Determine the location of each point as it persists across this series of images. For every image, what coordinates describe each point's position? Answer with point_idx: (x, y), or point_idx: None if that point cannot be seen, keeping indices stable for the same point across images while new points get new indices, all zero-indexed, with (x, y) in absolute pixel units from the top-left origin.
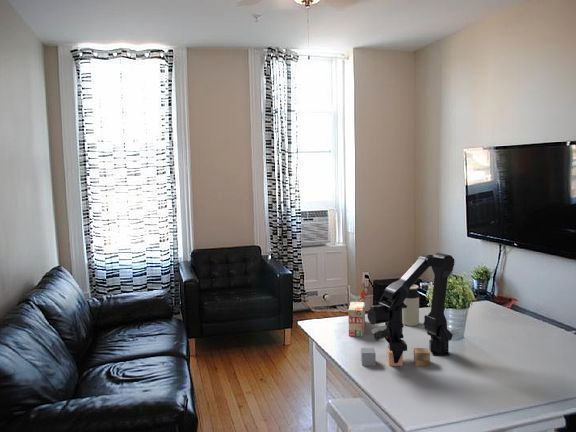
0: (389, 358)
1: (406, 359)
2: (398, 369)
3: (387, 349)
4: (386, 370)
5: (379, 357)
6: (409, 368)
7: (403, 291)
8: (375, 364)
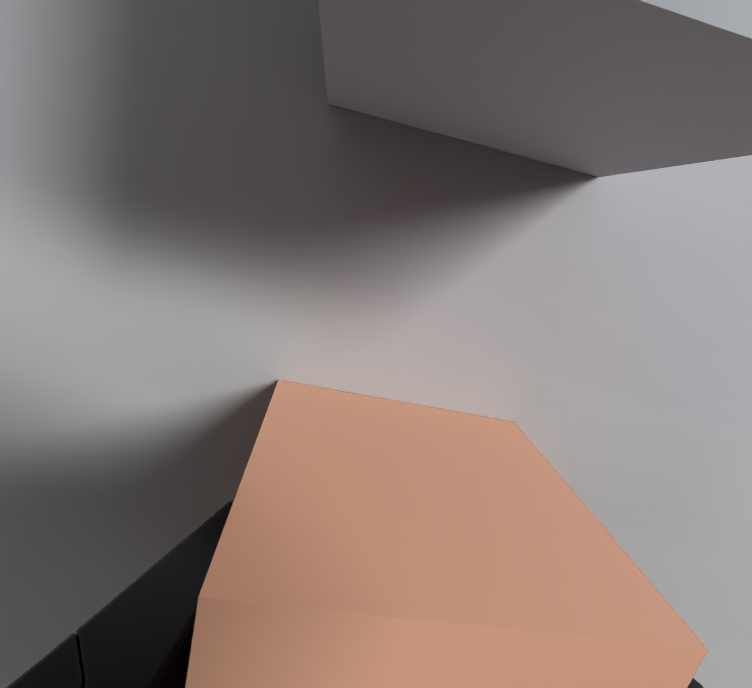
0: (251, 466)
1: None
2: (91, 482)
3: (610, 608)
4: (49, 254)
5: (675, 329)
6: None
7: None
8: (329, 93)
